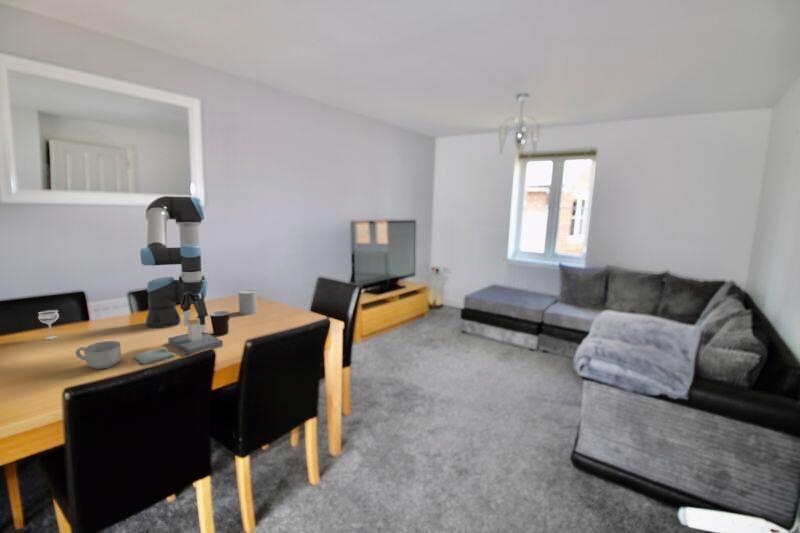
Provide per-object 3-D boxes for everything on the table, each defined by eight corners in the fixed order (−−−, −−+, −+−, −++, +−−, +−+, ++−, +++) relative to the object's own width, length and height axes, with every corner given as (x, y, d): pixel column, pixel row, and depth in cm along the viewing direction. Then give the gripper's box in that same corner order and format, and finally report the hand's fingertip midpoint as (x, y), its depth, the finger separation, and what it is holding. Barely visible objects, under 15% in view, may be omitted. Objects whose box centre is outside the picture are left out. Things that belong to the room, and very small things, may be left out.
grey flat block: (168, 343, 167) (168, 338, 166) (200, 335, 178) (200, 330, 177) (189, 355, 155) (188, 349, 154) (222, 346, 166) (222, 340, 165)
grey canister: (260, 312, 219) (260, 291, 217) (246, 315, 211) (245, 294, 209) (250, 309, 224) (249, 289, 222) (235, 312, 216) (235, 291, 214)
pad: (133, 357, 150) (132, 355, 150) (163, 349, 159) (163, 348, 159) (143, 365, 144) (143, 363, 144) (174, 356, 153) (174, 354, 152)
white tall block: (188, 344, 166) (187, 318, 164) (198, 342, 169) (196, 316, 167) (192, 347, 163) (191, 320, 161) (202, 344, 166) (201, 318, 165)
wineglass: (65, 336, 171) (62, 310, 169) (47, 341, 164) (44, 314, 163) (54, 334, 173) (51, 309, 171) (36, 339, 166) (33, 313, 164)
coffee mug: (222, 337, 176) (222, 316, 175) (206, 335, 178) (205, 315, 177) (238, 329, 188) (237, 310, 186) (222, 328, 189) (222, 308, 188)
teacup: (128, 360, 148) (127, 340, 147) (108, 372, 137) (106, 351, 136) (92, 359, 147) (90, 340, 146) (68, 371, 137) (66, 350, 135)
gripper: (170, 277, 166) (173, 324, 169) (196, 286, 151) (199, 336, 154) (188, 275, 172) (190, 320, 175) (215, 283, 157) (217, 332, 160)
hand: (194, 328), depth 165 cm, fingers open, 13 cm apart
